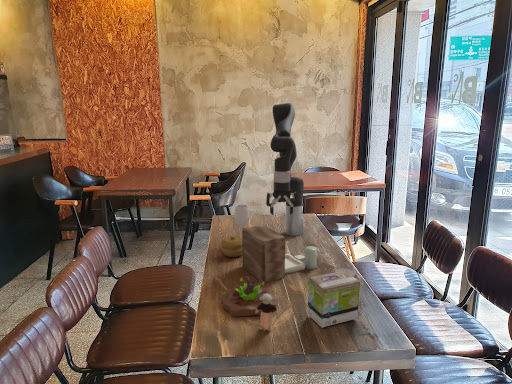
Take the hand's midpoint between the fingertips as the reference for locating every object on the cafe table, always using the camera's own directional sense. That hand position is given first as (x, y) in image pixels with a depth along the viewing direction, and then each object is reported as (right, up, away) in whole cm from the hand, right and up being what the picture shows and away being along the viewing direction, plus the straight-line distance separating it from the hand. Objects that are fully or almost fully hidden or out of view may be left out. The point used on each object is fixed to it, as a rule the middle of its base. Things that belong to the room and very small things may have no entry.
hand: (281, 214), depth 176 cm
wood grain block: (-9, -25, -6) cm, 28 cm away
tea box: (+15, -34, -42) cm, 57 cm away
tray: (+4, -24, 0) cm, 24 cm away
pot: (-23, -21, +13) cm, 34 cm away
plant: (-15, -32, -32) cm, 48 cm away
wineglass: (-19, -18, +28) cm, 38 cm away
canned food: (+22, -31, -30) cm, 49 cm away
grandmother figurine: (-8, -36, -49) cm, 61 cm away
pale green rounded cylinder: (+13, -24, -2) cm, 28 cm away
